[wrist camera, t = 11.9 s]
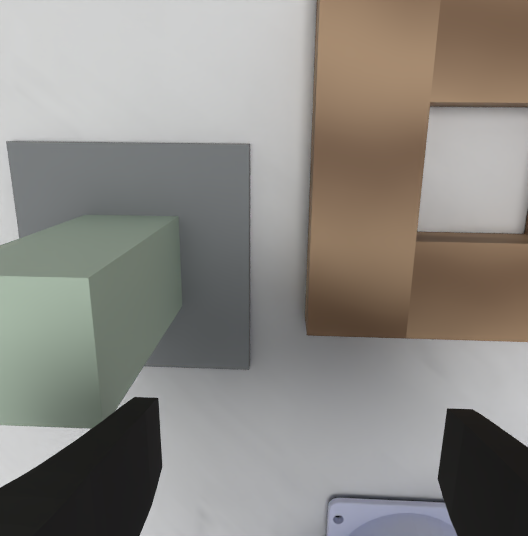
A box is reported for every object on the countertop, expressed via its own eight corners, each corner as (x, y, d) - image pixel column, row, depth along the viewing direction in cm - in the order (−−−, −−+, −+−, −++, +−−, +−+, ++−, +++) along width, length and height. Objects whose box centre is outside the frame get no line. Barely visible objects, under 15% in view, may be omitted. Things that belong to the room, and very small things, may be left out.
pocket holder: (602, 325, 20) (636, 345, 18) (305, 317, 20) (306, 335, 19) (678, -10, 16) (730, -30, 14) (317, -8, 17) (320, -27, 15)
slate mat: (249, 365, 21) (248, 369, 21) (40, 358, 22) (36, 362, 21) (250, 144, 19) (249, 144, 18) (11, 141, 19) (6, 141, 19)
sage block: (182, 305, 20) (103, 429, 12) (93, 303, 20) (-50, 423, 12) (178, 216, 19) (88, 277, 10) (85, 214, 19) (-80, 273, 11)
